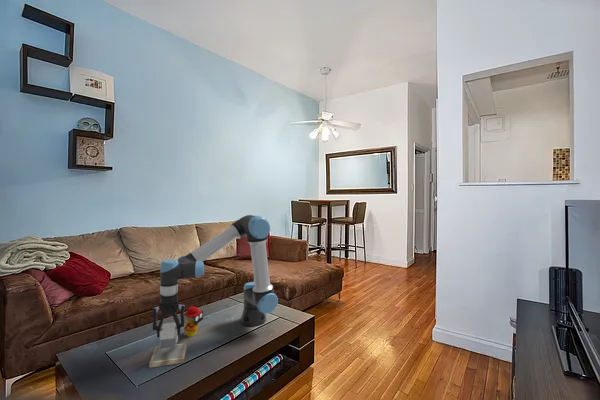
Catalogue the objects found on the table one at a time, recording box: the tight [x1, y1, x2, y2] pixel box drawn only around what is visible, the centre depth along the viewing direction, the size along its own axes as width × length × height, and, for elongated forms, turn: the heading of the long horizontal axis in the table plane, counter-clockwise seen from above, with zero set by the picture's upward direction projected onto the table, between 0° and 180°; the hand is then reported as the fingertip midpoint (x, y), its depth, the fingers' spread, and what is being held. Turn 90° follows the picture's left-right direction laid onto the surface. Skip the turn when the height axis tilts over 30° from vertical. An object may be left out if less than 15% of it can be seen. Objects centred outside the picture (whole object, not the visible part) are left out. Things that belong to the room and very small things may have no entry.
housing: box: [159, 321, 177, 349], centre depth 134 cm, size 8×6×8 cm
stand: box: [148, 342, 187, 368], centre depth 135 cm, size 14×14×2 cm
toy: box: [183, 306, 204, 338], centre depth 156 cm, size 11×9×15 cm
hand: (168, 342), depth 134 cm, fingers closed on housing, 6 cm apart
